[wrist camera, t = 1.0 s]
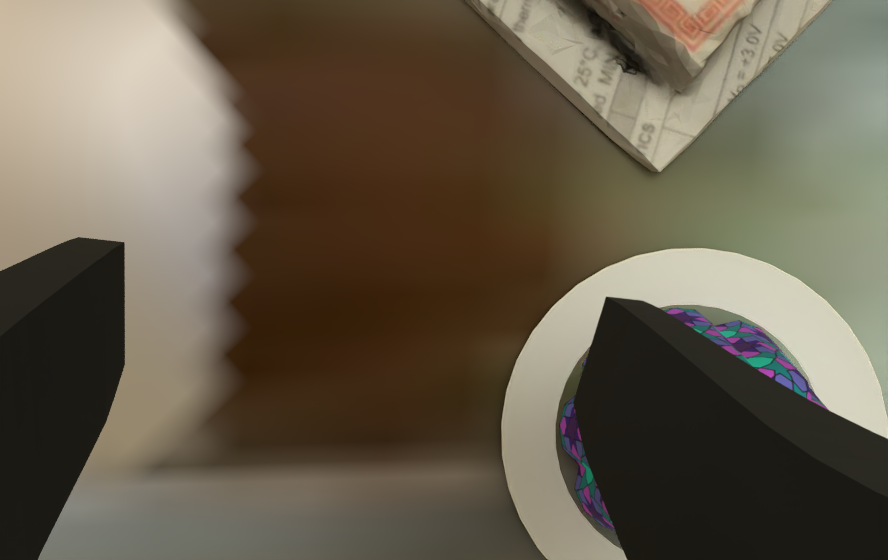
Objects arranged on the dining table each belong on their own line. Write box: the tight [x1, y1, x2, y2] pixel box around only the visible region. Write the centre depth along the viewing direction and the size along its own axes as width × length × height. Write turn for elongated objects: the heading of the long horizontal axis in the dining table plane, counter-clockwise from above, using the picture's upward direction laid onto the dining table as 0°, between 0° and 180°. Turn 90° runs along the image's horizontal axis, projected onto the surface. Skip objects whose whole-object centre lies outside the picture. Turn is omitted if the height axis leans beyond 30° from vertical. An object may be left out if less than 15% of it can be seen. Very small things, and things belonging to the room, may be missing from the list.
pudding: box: [501, 248, 888, 560], centre depth 23 cm, size 12×12×5 cm
